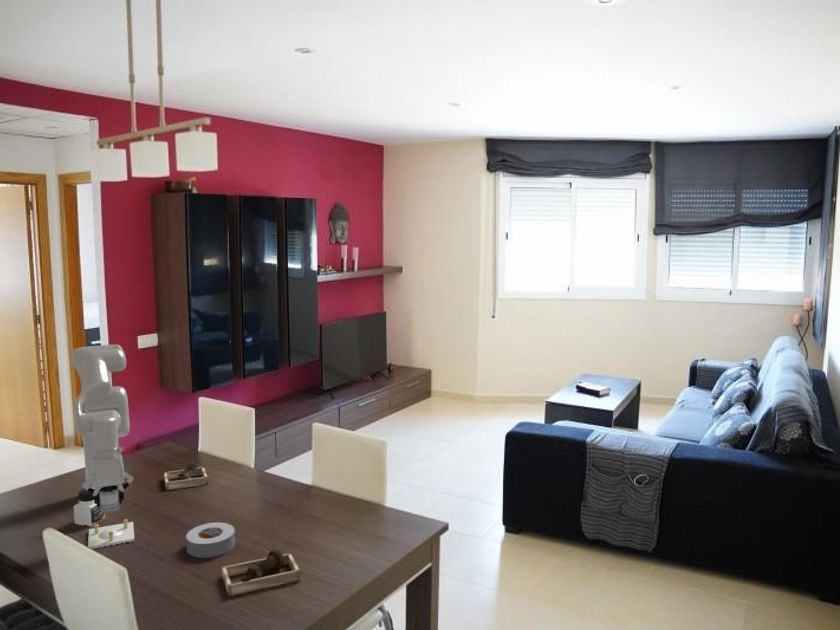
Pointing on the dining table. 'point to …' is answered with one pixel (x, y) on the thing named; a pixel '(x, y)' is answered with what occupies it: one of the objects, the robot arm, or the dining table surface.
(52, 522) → the dining table surface
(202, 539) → the tape roll
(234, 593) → the bolt frame
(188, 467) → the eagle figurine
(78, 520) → the medicine bottle
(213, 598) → the dining table surface
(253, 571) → the bolt
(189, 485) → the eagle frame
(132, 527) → the pin board
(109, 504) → the camera lens
